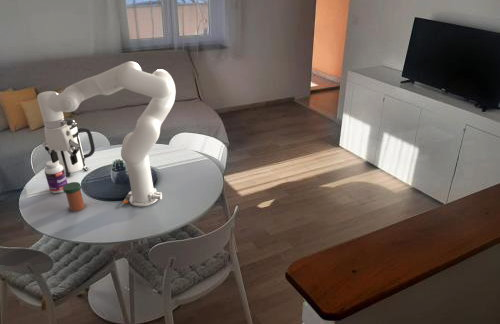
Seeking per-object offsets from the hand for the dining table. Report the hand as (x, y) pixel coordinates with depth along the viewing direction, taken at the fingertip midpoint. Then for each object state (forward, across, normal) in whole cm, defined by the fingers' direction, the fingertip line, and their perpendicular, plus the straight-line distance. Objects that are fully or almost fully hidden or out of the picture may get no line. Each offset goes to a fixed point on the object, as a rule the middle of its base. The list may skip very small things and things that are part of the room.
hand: (65, 162), depth 168 cm
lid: (+12, 0, 0) cm, 12 cm away
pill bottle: (+22, +18, -12) cm, 31 cm away
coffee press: (+22, +23, -32) cm, 45 cm away
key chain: (+23, -19, -10) cm, 31 cm away
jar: (+22, 0, 0) cm, 22 cm away
